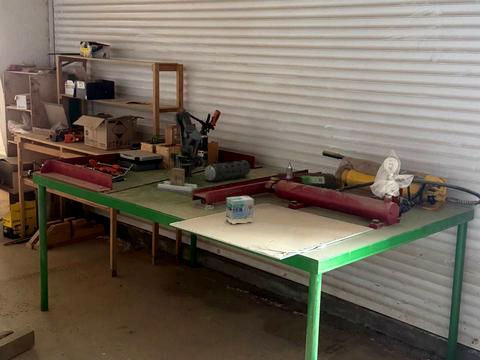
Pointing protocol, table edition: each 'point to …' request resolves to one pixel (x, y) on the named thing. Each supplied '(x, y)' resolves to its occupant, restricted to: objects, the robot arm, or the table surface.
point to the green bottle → (315, 179)
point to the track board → (177, 187)
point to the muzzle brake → (227, 170)
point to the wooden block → (177, 177)
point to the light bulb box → (239, 207)
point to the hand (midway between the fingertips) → (182, 171)
